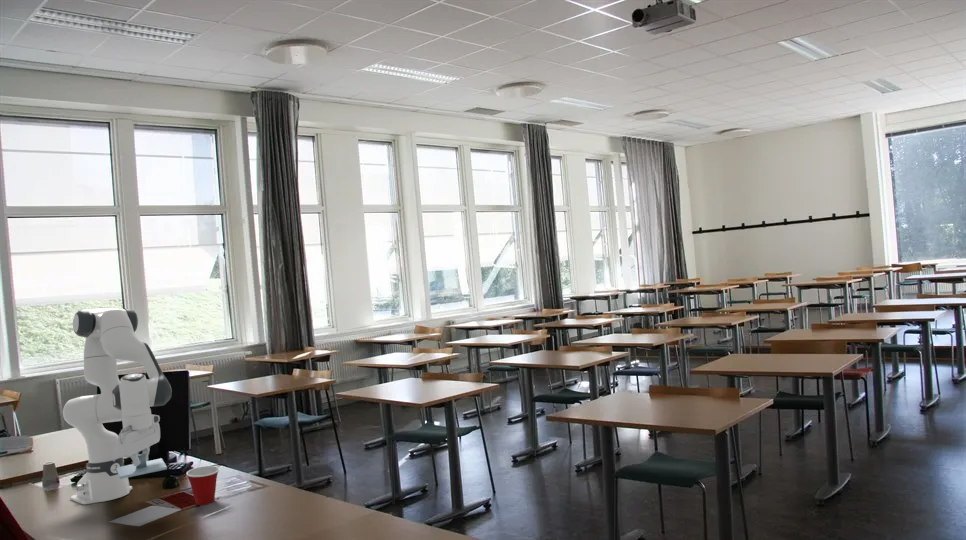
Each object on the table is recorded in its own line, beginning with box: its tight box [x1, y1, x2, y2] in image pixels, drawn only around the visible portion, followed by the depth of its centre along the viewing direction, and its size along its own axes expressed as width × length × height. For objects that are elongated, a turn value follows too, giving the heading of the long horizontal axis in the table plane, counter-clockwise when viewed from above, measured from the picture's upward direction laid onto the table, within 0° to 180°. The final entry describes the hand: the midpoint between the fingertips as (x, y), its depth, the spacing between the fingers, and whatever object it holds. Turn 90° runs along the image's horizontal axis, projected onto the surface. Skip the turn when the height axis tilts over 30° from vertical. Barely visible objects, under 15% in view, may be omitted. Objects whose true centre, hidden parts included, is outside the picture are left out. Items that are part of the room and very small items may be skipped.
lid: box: [117, 453, 168, 479], centre depth 231 cm, size 14×14×5 cm
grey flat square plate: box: [108, 505, 182, 528], centre depth 230 cm, size 16×16×1 cm
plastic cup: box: [186, 465, 220, 506], centre depth 240 cm, size 11×11×12 cm
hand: (141, 463), depth 231 cm, fingers closed on lid, 3 cm apart
